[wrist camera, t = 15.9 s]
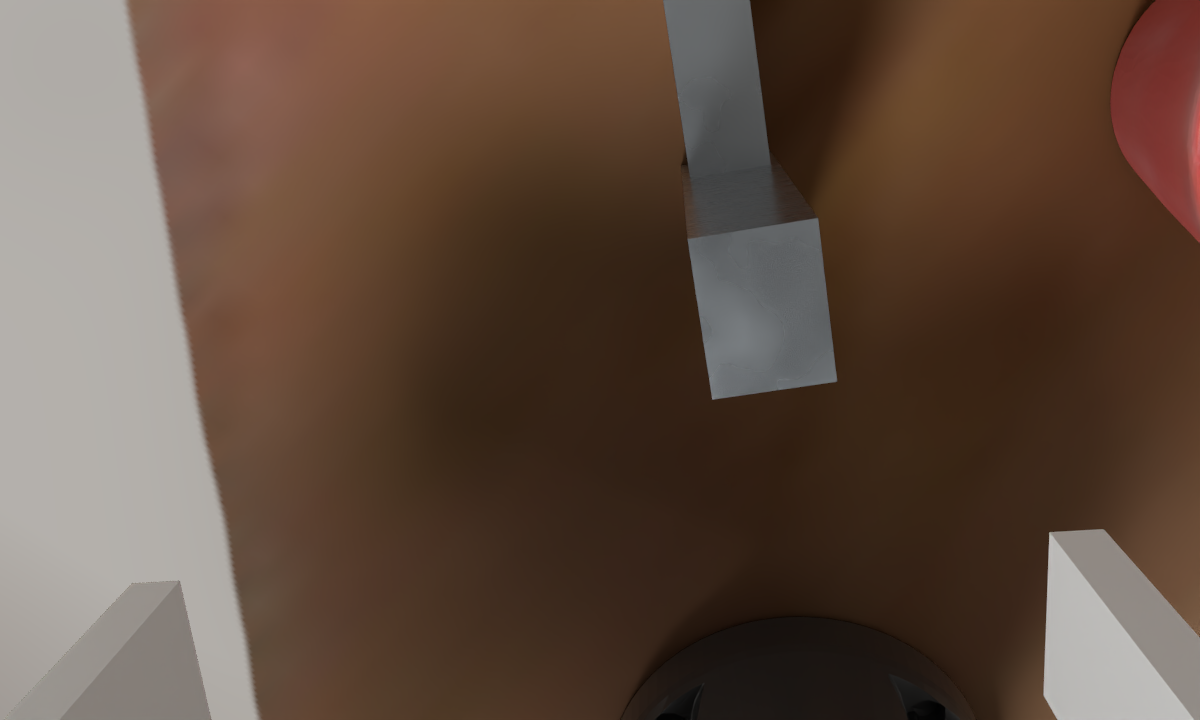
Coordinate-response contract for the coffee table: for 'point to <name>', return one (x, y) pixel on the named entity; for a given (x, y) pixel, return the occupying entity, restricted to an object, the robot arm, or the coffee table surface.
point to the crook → (744, 215)
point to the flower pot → (1162, 105)
